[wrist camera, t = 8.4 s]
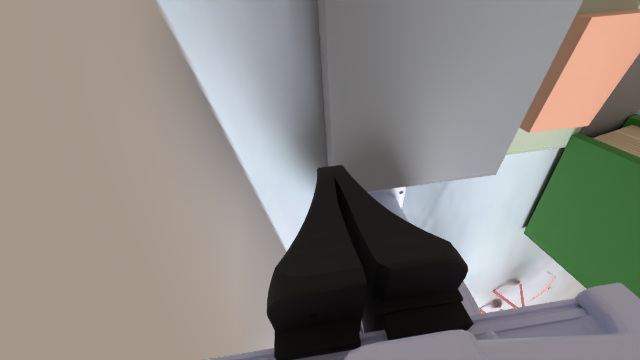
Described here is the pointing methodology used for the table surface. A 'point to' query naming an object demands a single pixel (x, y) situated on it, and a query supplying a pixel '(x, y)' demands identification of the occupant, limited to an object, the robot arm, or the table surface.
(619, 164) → the hardback book
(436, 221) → the table surface
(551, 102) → the terracotta tile
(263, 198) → the table surface
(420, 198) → the table surface
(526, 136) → the sage mat
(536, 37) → the block
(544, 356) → the robot arm
